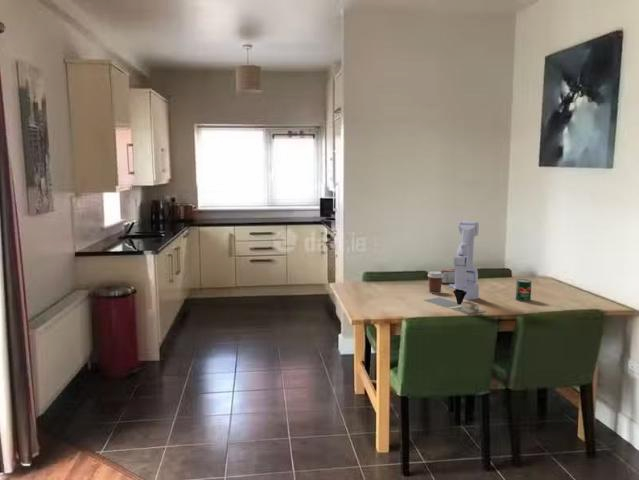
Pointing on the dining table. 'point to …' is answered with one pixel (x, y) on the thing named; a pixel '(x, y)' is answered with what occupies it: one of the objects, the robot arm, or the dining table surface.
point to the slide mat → (450, 305)
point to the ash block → (469, 307)
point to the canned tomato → (523, 290)
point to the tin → (448, 276)
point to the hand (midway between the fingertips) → (459, 304)
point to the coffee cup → (435, 282)
